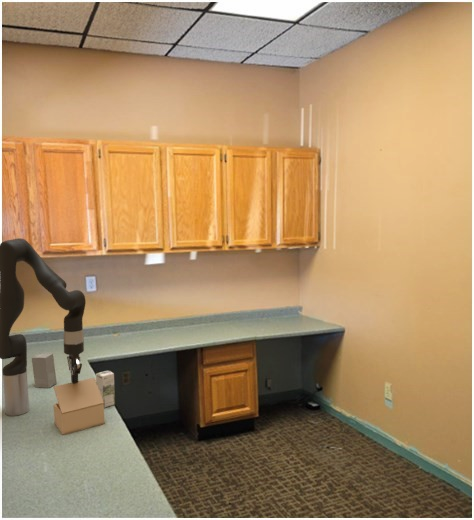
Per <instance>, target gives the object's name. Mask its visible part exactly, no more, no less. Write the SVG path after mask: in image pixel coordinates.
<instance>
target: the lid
mask: <svg viewBox="0 0 474 520" xmlns="http://www.w3.org/2000/svg"><path fill="white" fill-rule="evenodd" d="M53 389H54V393H55V396H56V400H57V403H59V407H60V410H61V413H62V414H64V413H68V412H72V411H76V410H80V409H84V408H88V407H92V406H96V405H100V404H104V402H103V399H102V397H101V394H100V392H99V389H98V386H97V384H96V377H92V378H87V379H82V380H78V383H75V384H73V383H72V382H69V383H68V382H66V383H63V384H58V385H53Z"/></svg>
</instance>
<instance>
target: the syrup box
mask: <svg viewBox="0 0 474 520" xmlns="http://www.w3.org/2000/svg"><path fill="white" fill-rule="evenodd" d="M95 381H96V384H97V386H98V389H99V392H100V394H101V397H102V399H103V402H104V409H106V408H109V407H112V406H115V405H116V395H115V392H116V391H115V373H114V372H112V371H111V370H104V371H101V372H97V373H96V374H95Z"/></svg>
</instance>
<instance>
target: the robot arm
mask: <svg viewBox="0 0 474 520" xmlns="http://www.w3.org/2000/svg"><path fill="white" fill-rule="evenodd" d="M22 261H23V262H25V263H26V264H28V265H29V266H30V267H31V269H32V270H33V273H34V275H35V278H36V280H37V282H38V283H39V285H41V286H42V288H44V289H45V290H46V291H48V293H49V294H51V296H52V297H53V299H54V300H55V302H56V303H57V305H58V306H59V307H60V308H61V309H63V310H65V311H68V313H67V314H66V315H65V316H64V318H63V353H64V355H65V354H66V355H68V356H66V359H67V365H68V370H69V372H70V378H71V379H70V380H71V381H70V383H73V384H75V383H78V381H79V375H80V374H81V370H82V367H83V364H82V363H81V357H80V354H82V353H83V352H84V351H85V345H84V344H85V342H84V329H83V326H84V325H83V317H84V315H85V314H84V313H85V310H86V309H85V308H86V301H87V300H86V296H85V294H84V292H83V291H81V290H78V289H76V290H72V291H68V290H67V289H66V288H67V282H66V281H65V280H64V279H63V278H62V277H61V276H60V275H58V274H57V273H56V272H55V271H54V270H53V269H51V267H50V266H49V265H48V264H47V263H46V261H45V260H43V258H42V257H41V255H40V254H38V252H37V251H36V249H34V247H33V246H32V245H31V243H29V241H27V240H26V239H24V238H12V239H8V240H7V239H6V240H4V241H2V242H0V359H1V360H7V359H13V360H12V361H10V362H9V363H7V364H6V365H4V366H3V368H2V381H3V382H2V383H3V395H4V410H5V411H4V412H5V413H4V414H5V415H6V416H9V417H13V416H14V417H16V416H20V415H24V414H26V413H28V412H29V411H30V398H29V386H28V385H29V384H28V369H27V367H28V359H27V358H28V357H27V355H28V354H27V353H28V348H27V347H28V345H27V340H26V337H25V335H24V334H22V333H20V334H19V333H16V334H13V335H10V333H11V331H12V327H13V326H14V325H15V322H16V321H17V320H18V318H19V317H20V316H21V314H22V313H23V310H24V306H25V290H24V288H23V286H22V285H21V283H20V281H19V279H18V276H17V263H20V262H22Z"/></svg>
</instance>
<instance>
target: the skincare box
mask: <svg viewBox="0 0 474 520" xmlns="http://www.w3.org/2000/svg"><path fill="white" fill-rule="evenodd" d="M31 363H32V364H31V365H32V372H33V379H34V387H35V388H39V387H40V389H42V388H43V389H45V388H46V389H49V388H51V387H54V386H56V385H57V374H56V367H55V366H56V365H55V359H54V353H38V354H36V355H33V356H32V357H31Z"/></svg>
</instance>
